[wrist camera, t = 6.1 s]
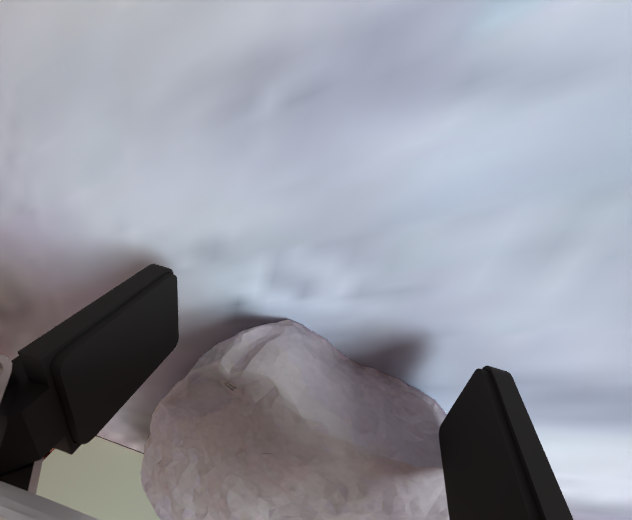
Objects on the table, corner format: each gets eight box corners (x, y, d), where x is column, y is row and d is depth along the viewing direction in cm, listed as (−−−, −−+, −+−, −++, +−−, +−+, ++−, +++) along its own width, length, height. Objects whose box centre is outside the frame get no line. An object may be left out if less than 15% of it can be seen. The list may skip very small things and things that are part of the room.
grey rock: (186, 408, 18) (322, 528, 17) (108, 484, 14) (281, 652, 13) (269, 254, 13) (477, 410, 12) (184, 300, 9) (496, 556, 7)
